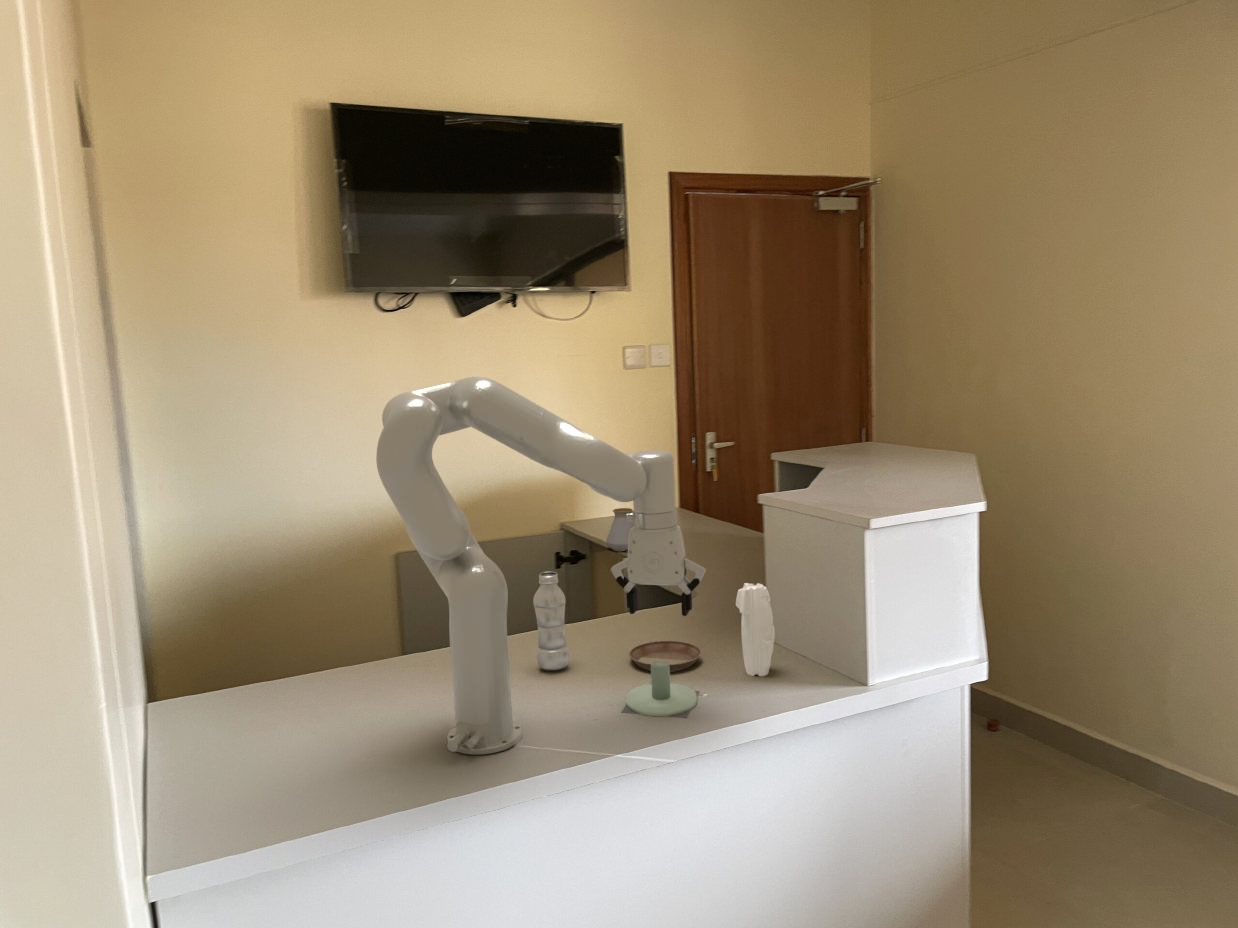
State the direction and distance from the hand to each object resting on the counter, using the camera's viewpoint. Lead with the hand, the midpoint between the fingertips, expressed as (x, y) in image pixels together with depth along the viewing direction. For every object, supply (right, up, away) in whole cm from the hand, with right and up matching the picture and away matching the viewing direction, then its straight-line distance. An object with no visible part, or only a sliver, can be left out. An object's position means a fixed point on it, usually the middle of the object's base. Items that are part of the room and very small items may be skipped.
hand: (659, 612), depth 159 cm
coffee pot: (-3, 0, +128) cm, 128 cm away
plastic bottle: (-21, -15, +22) cm, 34 cm away
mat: (0, -17, +2) cm, 17 cm away
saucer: (+2, -15, +22) cm, 27 cm away
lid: (0, -17, +2) cm, 17 cm away
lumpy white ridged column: (+20, -15, +14) cm, 29 cm away
